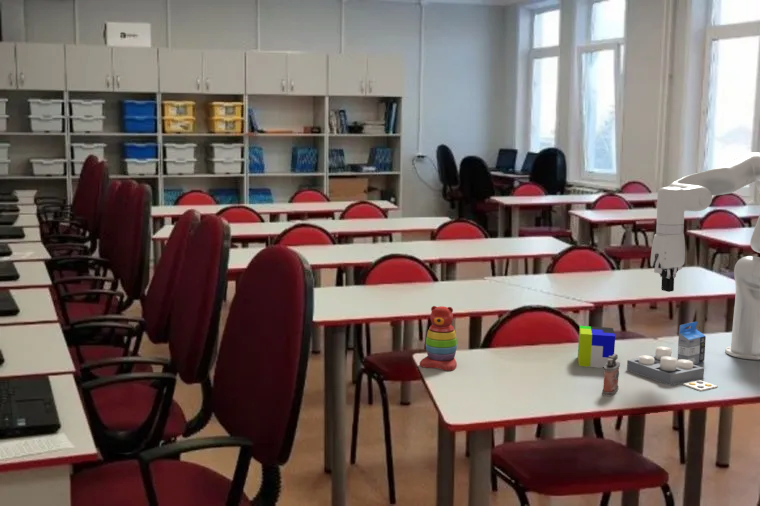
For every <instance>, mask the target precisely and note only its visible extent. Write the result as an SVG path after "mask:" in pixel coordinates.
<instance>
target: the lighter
mask: <svg viewBox="0 0 760 506" xmlns="http://www.w3.org/2000/svg"><path fill="white" fill-rule="evenodd" d="M618 357H619V355H618V353H614V354H613V355H612V356H609V358H608V361H607V364H605V366H604V368H603V371H604V372H603V373H604V374H603V385H602V386H603V387H602V392H601V394H602V396H607V397H608V396H610V397H611V396H613V395H615V394H616V392H617V393H618V391H619V377H620V366H621V362H620V361H617V360H618Z"/></svg>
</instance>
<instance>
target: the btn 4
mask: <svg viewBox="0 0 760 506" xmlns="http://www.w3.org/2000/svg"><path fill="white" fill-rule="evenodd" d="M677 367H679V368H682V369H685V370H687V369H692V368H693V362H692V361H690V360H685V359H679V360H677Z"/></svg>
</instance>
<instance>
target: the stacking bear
mask: <svg viewBox="0 0 760 506" xmlns="http://www.w3.org/2000/svg"><path fill="white" fill-rule="evenodd" d="M430 310H431V313H430V322H431V325H430V326H429V327H428V330H427V332H426V337H425V350H426V355H427V356H425V357H424V358H422V359H421V360H420V361H419V366H420V367H422V368H426V369H429V368H430V369H431V368H432V369H433V368H434V369H440V370H442V371H454V370H455V369H457V365H458V363H457V360H456V358H455V357H456V351H457V348H458V339H457V334H456V330H455V328H454V326H453V325H452V323H453V318H454V314H453V312H454V309H453V308H452V307H451V306H448V307H447V306H443V305H441V306H440V305H439V306H435V305H433V306H431V308H430Z"/></svg>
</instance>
